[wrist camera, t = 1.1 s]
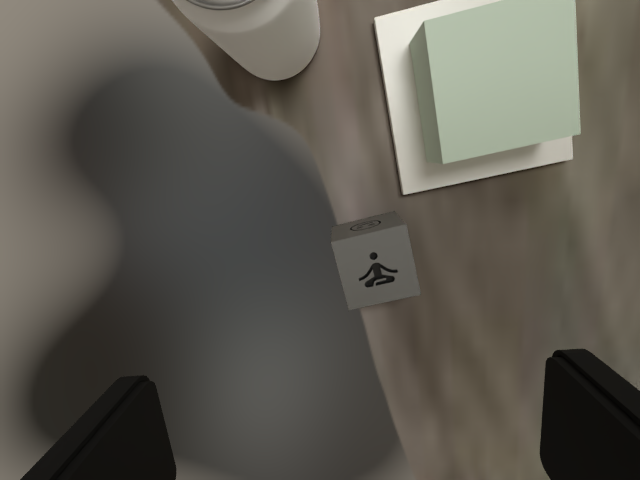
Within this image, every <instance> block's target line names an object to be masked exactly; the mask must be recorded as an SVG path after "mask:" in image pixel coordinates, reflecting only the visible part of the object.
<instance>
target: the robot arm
mask: <svg viewBox="0 0 640 480" xmlns="http://www.w3.org/2000/svg"><path fill="white" fill-rule="evenodd" d="M540 458H541V462H542V465H543V467H544V469H545V471H546V473H547V474H548V476H549V478H550V479H551V480H640V391H639V390H638V389H637V388H635V387H634V386H633V385H631V384H630V383H629V382H628V381H626V380H625V379H624V378H623V377H621V376H620V375H619V374H617V373H616V372H615V371H614V370H612V369H611V368H610V367H609V366H607V365H606V364H605V363H603V362H602V361H601V360H600V359H598V358H597V357H596V356H595V355H593V354H592V353H591V352H589V351H588V350H586V349H570V350H557V351H555V352H554V353H553V356H552V357H550V358H548V359H547V360H546V367H545V382H544V397H543V412H542V427H541V442H540ZM175 479H176V465H175V462H174V457H173V453H172V449H171V445H170V441H169V437H168V433H167V429H166V425H165V421H164V417H163V413H162V409H161V405H160V401H159V397H158V393H157V389H156V385H155V383H154V382H152V381H150V380H149V378H147V376H144V375H143V376H126V377H120V378H119V379H117V380H116V381H115V382H114V383H113V384H112V385H111V386H110V387H109V388H108V389H107V390H106V392H104V394H103V395H102V396H101V397H100V398H99V399H98V400H97V401H96V402H95V403H94V404H93V405H92V406H91V407H90V408H89V409H88V410H87V411H86V412H85V413H84V414H83V415H82V416H81V417H80V418H79V419H78V420H77V422H76V423H75V424H74V425H73V426H72V427H71V428H70V429H69V430H68V431H67V432H66V433H65V434H64V435H63V436H62V437H61V438H60V439H59V440H58V441H57V442H56V443H55V444H54V445H53V446H52V447H51V448H50V449H49V450H48V452H47V453H46V454H45V455H44V456H43V457H42V458H41V459H40V460H39V461H38V462H37V463H36V464H35V465H34V466H33V467H32V468H31V469H30V470H29V471H28V472H27V473H26V474H25V475H24V476H23V477H22V479H20V480H175Z"/></svg>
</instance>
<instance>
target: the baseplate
mask: <svg viewBox="0 0 640 480" xmlns="http://www.w3.org/2000/svg"><path fill="white" fill-rule="evenodd" d="M498 1H501V0H439V1H436V2H432V3H428V4H424V5H421V6H417V7H413V8H409V9H406V10H402V11H398V12H394V13H391V14H387V15H383V16H379V17H376V18H374V22H373V23H374V29H375V35H376V41H377V47H378V53H379V59H380V65H381V71H382V77H383V83H384V90H385V96H386V102H387V108H388V114H389V120H390V126H391V132H392V138H393V144H394V150H395V156H396V162H397V168H398V174H399V180H400V186H401V192H402V194H403V195H406V194H410V193H415V192H420V191H425V190H429V189H434V188H439V187H443V186H448V185H453V184H458V183H462V182H467V181H472V180H476V179H481V178H486V177H491V176H495V175H500V174H505V173H509V172H514V171H519V170H524V169H528V168H533V167H538V166H542V165H547V164H552V163H557V162H561V161H566V160H571V159H573V148H572V136H569V137H565V138H560V139H556V140H551V141H546V142H542V143H537V144H533V145H528V146H524V147H519V148H514V149H510V150H505V151H501V152H496V153H492V154H487V155H482V156H478V157H473V158H469V159H464V160H460V161H455V162H450V163H446V164H438V163H430V162H427V160H426V153H425V146H424V139H423V132H422V125H421V119H420V112H419V105H418V98H417V91H416V84H415V77H414V70H413V63H412V56H411V50H410V41H411V40H412V38H413V37H414V35H415V34H416V32H417V31H418V29H419V27H420V26H421V24H422V23H423V21H425V20H429V19H433V18H437V17H440V16H444V15H448V14H452V13H456V12H459V11H463V10H467V9H471V8H475V7H478V6H482V5H486V4H490V3H494V2H498Z"/></svg>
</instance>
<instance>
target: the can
mask: <svg viewBox="0 0 640 480" xmlns="http://www.w3.org/2000/svg"><path fill="white" fill-rule="evenodd" d="M172 1H173V2H174V4H175V5H176V6H177V7H178V9H179V10H180V11H181V12H182V13H183V14H184V15H185V16H186V17H187V18H188V19H189V20H190V21H191V22H192V23H193V24H194V25H196V26H197V27H198V28H199V29H200V30H201V31H202V32H203V33H204V34H206V35H207V36H208V37H209V38H210V39H211V40H212V41H213V42H215V43H216V44H217V45H218V46H219V47H220V48H221V49H223V50H224V51H225V52H226V53H227V54H228V55H229V56H231V57H232V58H233V59H234V60H235V61H236V62H237V63H239V64H240V65H241V66H242V67H243V68H245V69H246V70H247V71H248V72H250V73H251V74H253V75H255V76H257V77H259V78H262V79H266V80H273V81H277V80H284V79H288V78H290V77H293V76H295V75H296V74H298V73H299V72H301V71H302V70H303V69H304V68H305V67H306V66H307V65H308V64H309V62H310V61H311V59H312V58H313V56H314V54H315V52H316V50H317V47H318V44H319V39H320V21H319V12H318V4H317V0H172Z"/></svg>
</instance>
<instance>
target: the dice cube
mask: <svg viewBox="0 0 640 480" xmlns="http://www.w3.org/2000/svg"><path fill="white" fill-rule="evenodd" d="M331 245H332V249H333V253H334V256H335V260H336V264H337V267H338V272H339V275H340V279H341V283H342V287H343V290H344V294H345V298H346V301H347V306H348V309H349V310H353V309H357V308H362V307H366V306H371V305H376V304H380V303H385V302H389V301H394V300H399V299H403V298H408V297H412V296H417V295H421V292H420V287H419V282H418V277H417V272H416V268H415V263H414V258H413V253H412V248H411V244H410V239H409V234H408V229H407V224H406V223H405V222H404V221H403V220H402V219H401V218H400V217H399V216H398V215H397V214H396V212H395V211H393V212H389V213H385V214H381V215H377V216H373V217H369V218H365V219H361V220H357V221H353V222H348V223H344V224H340V225H336V226H332V233H331Z"/></svg>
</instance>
